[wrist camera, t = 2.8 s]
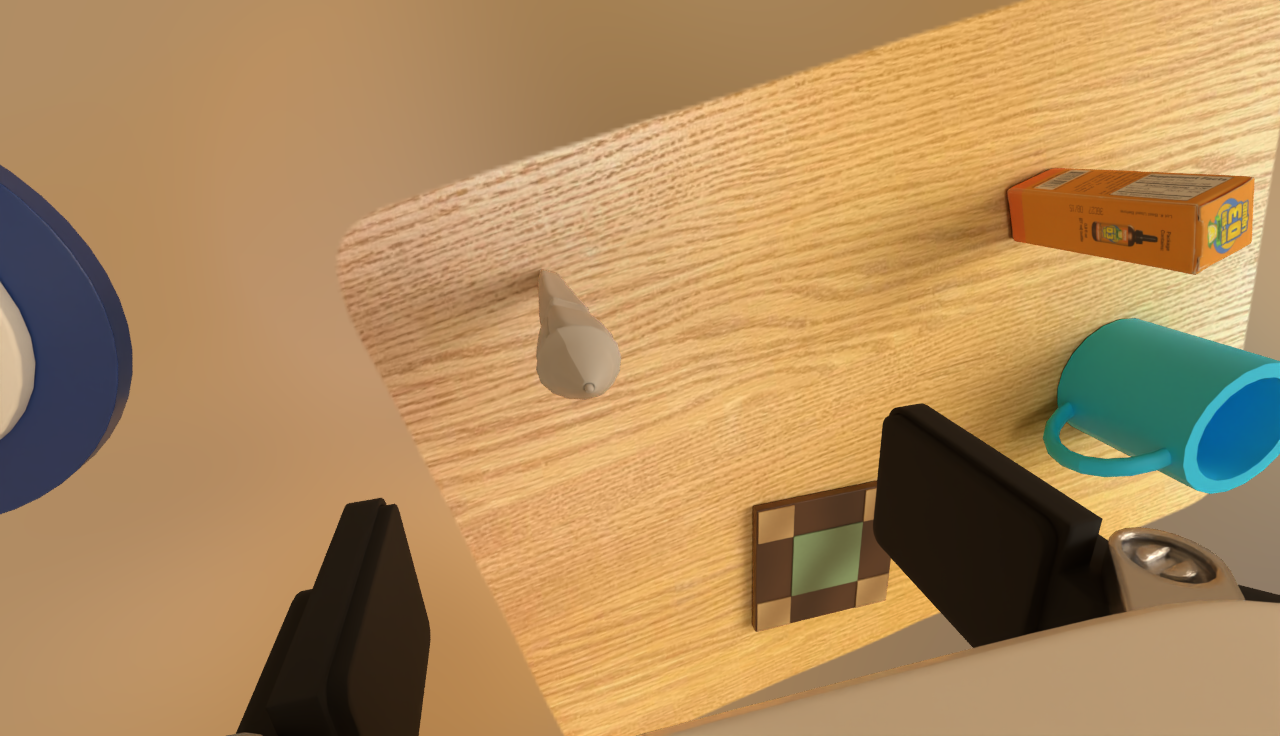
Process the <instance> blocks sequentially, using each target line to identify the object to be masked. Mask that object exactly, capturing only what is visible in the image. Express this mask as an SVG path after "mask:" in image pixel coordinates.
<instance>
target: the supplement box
mask: <svg viewBox="0 0 1280 736" xmlns="http://www.w3.org/2000/svg"><path fill="white" fill-rule="evenodd" d="M1007 194H1008V201H1009V206H1010V214H1011V222H1012V235H1013V239H1014V240H1015V241H1017V242H1023V243H1029V244H1034V245H1039V246H1045V247H1050V248H1055V249H1061V250H1066V251H1072V252H1077V253H1082V254H1088V255H1093V256H1099V257H1104V258H1109V259H1115V260H1120V261H1126V262H1131V263H1136V264H1142V265H1147V266H1152V267H1158V268H1163V269H1168V270H1173V271H1178V272H1183V273H1188V274H1193V275H1196V274H1198V273H1199V272H1201V271H1202V270H1204V269H1206V268H1207V267H1209V266H1210V265H1212V264H1214V263H1216V262H1218V261H1220V260H1222V259H1224V258H1225V257H1227V256H1229V255H1231V254H1233V253H1235V252H1236V251H1238V250H1240V249H1242V248H1243V247H1245V246H1247V245H1249V244H1250V243H1251V241H1252V219H1253V195H1254V177H1247V176H1229V175H1206V174H1183V173H1161V172H1139V171H1118V170H1091V169H1064V168H1052V169H1049V170H1047V171H1045V172H1043V173H1041V174H1039V175H1037V176H1035V177H1033V178H1031V179H1029V180H1026V181H1024V182H1022V183H1020V184H1018V185H1016V186H1013V187H1011V188H1010V189H1009V190H1008V191H1007Z"/></svg>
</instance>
